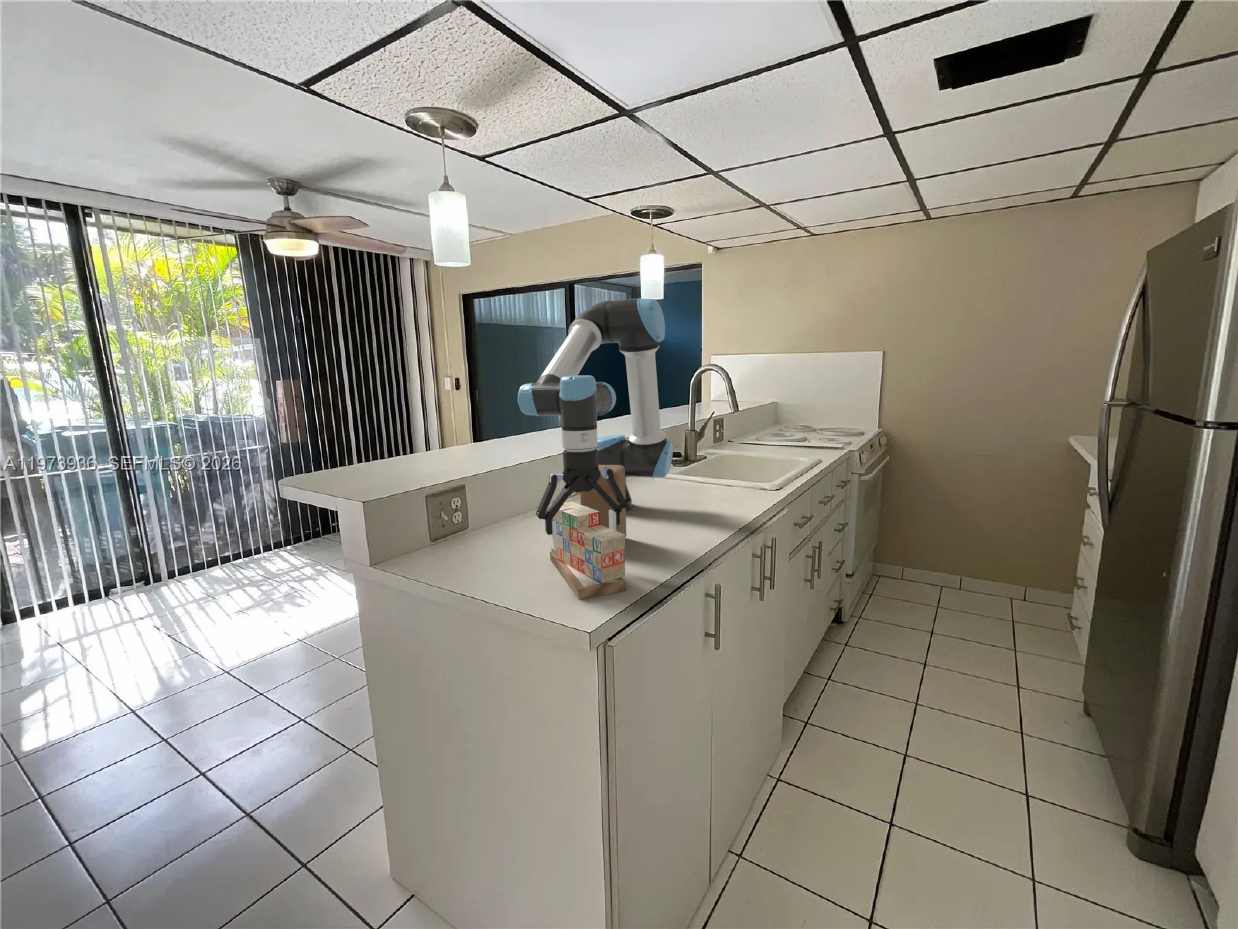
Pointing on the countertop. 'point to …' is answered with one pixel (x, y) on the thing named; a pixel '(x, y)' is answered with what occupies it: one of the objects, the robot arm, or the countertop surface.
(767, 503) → the countertop surface
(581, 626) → the countertop surface
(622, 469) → the block
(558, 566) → the picture frame
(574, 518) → the stack of blocks
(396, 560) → the countertop surface
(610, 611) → the countertop surface
